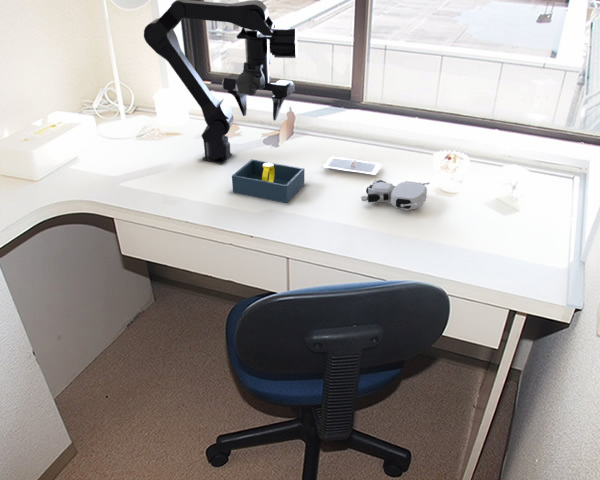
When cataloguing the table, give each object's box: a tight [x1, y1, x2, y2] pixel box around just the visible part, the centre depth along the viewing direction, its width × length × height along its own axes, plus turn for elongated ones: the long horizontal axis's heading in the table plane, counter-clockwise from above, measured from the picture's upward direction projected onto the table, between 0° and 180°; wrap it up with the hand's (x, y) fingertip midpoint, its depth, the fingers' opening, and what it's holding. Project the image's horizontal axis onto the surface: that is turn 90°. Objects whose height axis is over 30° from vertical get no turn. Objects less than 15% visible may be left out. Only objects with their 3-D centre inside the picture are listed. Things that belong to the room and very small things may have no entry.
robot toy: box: [360, 179, 431, 212], centre depth 136 cm, size 12×4×15 cm
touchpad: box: [322, 156, 383, 176], centre depth 153 cm, size 8×15×2 cm, turn 70°
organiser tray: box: [231, 159, 305, 204], centre depth 142 cm, size 15×11×5 cm
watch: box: [262, 162, 275, 182], centre depth 141 cm, size 6×3×6 cm, turn 164°
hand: (259, 117), depth 151 cm, fingers open, 9 cm apart
